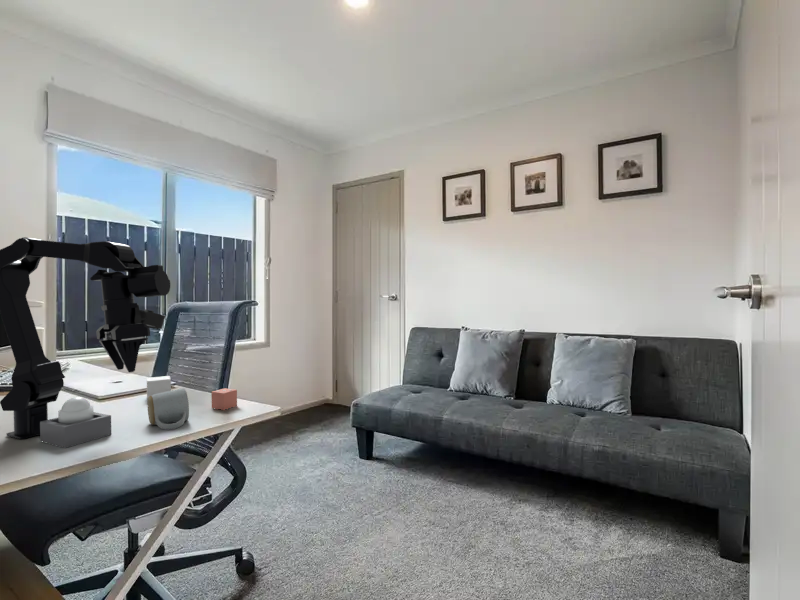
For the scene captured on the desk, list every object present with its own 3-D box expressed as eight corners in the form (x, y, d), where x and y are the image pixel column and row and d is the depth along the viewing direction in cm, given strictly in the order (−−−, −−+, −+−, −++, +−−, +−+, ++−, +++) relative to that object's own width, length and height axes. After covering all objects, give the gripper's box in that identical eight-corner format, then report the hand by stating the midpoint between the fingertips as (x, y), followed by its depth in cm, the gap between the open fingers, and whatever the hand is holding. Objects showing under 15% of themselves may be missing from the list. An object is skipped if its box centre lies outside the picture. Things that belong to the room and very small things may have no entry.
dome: (52, 422, 91) (51, 399, 90) (83, 415, 96) (83, 392, 96) (68, 426, 88) (68, 401, 88) (99, 418, 93) (99, 395, 93)
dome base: (40, 441, 90) (40, 421, 90) (87, 429, 98) (86, 410, 98) (64, 448, 86) (64, 427, 86) (111, 434, 94) (111, 415, 94)
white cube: (146, 398, 128) (146, 377, 128) (169, 395, 131) (169, 375, 131) (147, 402, 122) (147, 381, 122) (171, 399, 126) (170, 378, 126)
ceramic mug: (146, 421, 103) (146, 390, 103) (184, 415, 108) (183, 385, 108) (153, 433, 95) (152, 399, 95) (193, 426, 100) (192, 393, 100)
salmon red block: (211, 408, 115) (211, 391, 115) (225, 404, 119) (224, 387, 119) (223, 410, 113) (223, 392, 113) (237, 406, 117) (236, 389, 117)
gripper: (172, 294, 93) (179, 366, 94) (147, 299, 106) (153, 362, 107) (112, 298, 85) (120, 376, 86) (92, 303, 98) (99, 370, 99)
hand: (125, 370), depth 94 cm, fingers open, 9 cm apart
